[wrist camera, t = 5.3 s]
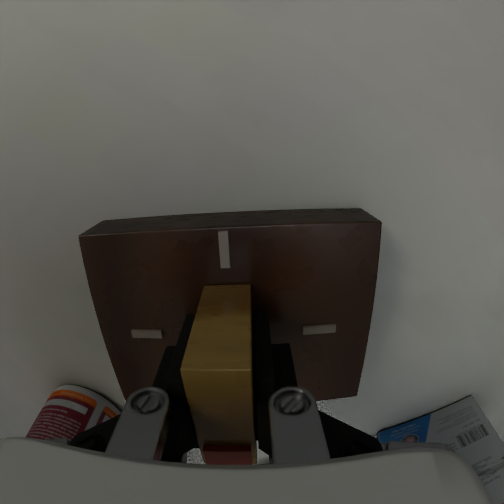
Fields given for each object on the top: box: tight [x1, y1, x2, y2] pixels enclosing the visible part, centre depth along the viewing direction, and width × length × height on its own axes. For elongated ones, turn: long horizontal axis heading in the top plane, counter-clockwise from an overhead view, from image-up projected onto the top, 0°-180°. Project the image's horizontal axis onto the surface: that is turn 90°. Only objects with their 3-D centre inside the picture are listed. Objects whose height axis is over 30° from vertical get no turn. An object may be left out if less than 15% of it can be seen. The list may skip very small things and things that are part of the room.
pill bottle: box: [26, 385, 121, 440], centre depth 13 cm, size 6×6×11 cm
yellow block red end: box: [180, 284, 257, 465], centre depth 10 cm, size 4×2×5 cm, turn 2°
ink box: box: [377, 396, 504, 504], centre depth 14 cm, size 8×5×12 cm, turn 102°
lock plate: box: [79, 208, 382, 401], centre depth 14 cm, size 12×9×3 cm
